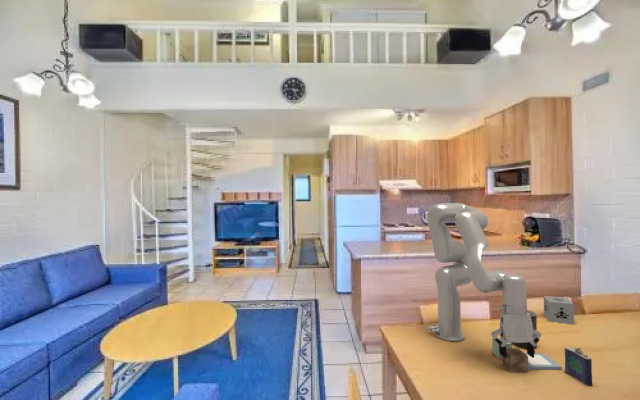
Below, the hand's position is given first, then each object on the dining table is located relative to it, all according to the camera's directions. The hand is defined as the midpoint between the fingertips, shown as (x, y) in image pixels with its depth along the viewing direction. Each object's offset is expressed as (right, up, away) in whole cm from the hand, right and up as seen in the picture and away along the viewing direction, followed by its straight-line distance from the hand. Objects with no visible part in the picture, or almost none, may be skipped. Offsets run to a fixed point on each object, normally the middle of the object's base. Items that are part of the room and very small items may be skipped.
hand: (517, 356), depth 116 cm
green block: (0, -5, +10) cm, 11 cm away
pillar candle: (+15, -5, +19) cm, 24 cm away
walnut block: (0, -5, +1) cm, 5 cm away
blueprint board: (+10, -5, +4) cm, 12 cm away
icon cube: (+48, -4, +44) cm, 65 cm away
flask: (+17, -5, -6) cm, 19 cm away
